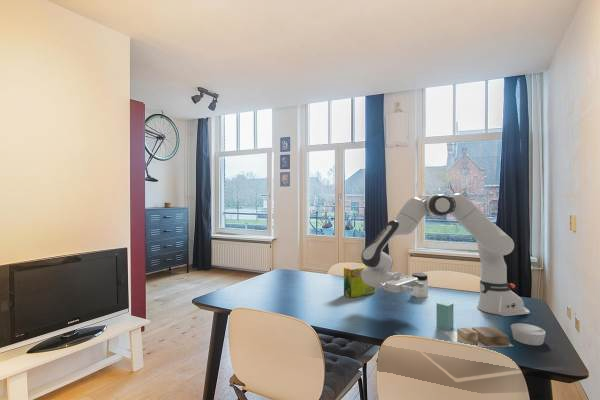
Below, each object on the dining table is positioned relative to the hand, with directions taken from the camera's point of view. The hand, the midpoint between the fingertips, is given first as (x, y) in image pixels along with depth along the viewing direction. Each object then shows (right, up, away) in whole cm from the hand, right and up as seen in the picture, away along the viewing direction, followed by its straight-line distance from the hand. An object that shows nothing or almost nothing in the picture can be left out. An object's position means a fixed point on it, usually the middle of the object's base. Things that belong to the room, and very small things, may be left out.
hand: (417, 287), depth 153 cm
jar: (+14, -15, +39) cm, 44 cm away
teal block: (+8, -15, -9) cm, 20 cm away
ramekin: (+35, -16, -22) cm, 44 cm away
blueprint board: (+16, -15, -20) cm, 30 cm away
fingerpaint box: (-19, -15, +42) cm, 48 cm away
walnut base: (+20, -15, -22) cm, 33 cm away
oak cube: (+10, -15, -25) cm, 31 cm away
